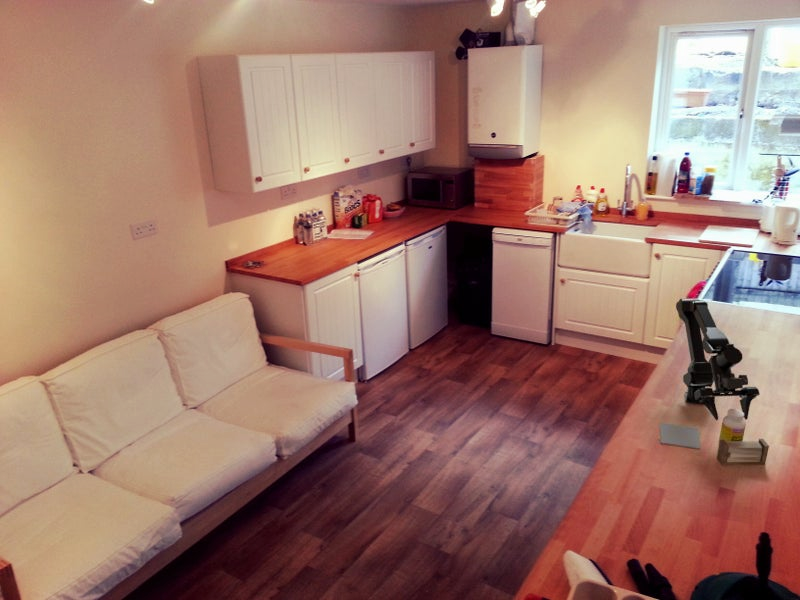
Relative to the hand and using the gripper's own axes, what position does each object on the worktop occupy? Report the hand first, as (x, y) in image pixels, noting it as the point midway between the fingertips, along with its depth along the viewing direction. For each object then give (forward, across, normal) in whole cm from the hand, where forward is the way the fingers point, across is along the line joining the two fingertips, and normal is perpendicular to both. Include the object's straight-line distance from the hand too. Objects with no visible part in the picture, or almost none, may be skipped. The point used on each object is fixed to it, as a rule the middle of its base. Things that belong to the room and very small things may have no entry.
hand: (731, 419), depth 210 cm
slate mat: (+3, -14, +10) cm, 17 cm away
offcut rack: (+13, 0, 0) cm, 13 cm away
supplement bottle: (+8, 0, +5) cm, 9 cm away
